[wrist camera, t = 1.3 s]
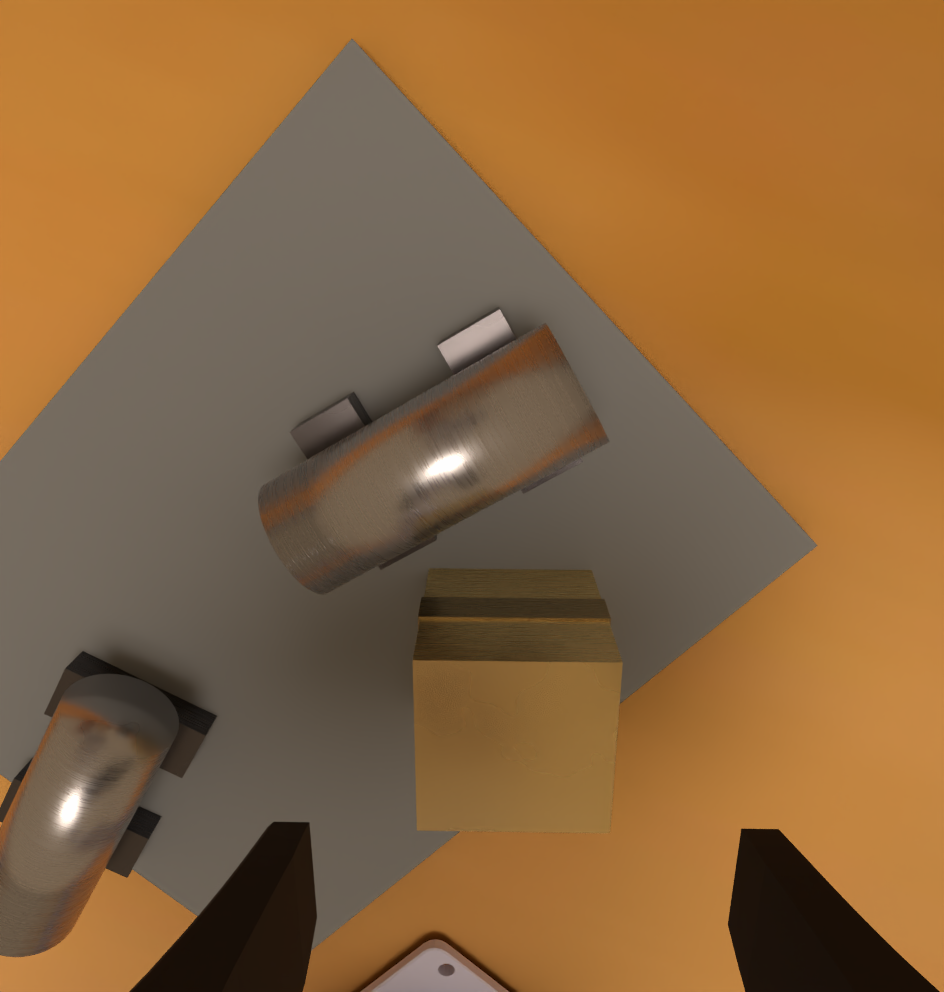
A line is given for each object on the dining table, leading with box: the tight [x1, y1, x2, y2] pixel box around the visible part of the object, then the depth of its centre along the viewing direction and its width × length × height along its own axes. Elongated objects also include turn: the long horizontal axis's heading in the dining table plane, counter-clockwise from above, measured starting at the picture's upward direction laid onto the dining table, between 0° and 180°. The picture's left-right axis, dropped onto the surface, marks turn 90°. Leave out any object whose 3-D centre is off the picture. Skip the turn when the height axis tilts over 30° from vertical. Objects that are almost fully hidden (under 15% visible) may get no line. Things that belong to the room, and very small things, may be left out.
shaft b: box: [0, 651, 217, 957], centre depth 20 cm, size 7×4×4 cm, turn 150°
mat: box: [0, 39, 817, 950], centre depth 20 cm, size 16×21×1 cm
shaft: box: [258, 307, 610, 594], centre depth 17 cm, size 7×4×4 cm, turn 120°
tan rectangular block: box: [413, 568, 623, 833], centre depth 18 cm, size 4×4×5 cm
